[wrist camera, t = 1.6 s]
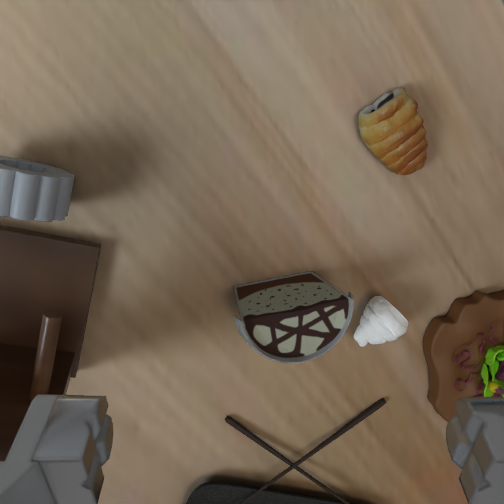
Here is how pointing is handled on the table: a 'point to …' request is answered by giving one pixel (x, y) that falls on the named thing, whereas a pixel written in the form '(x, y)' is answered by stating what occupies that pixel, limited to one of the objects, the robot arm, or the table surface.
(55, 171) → the grey knurled ring
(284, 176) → the table surface
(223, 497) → the sushi plate
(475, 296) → the plant
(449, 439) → the robot arm
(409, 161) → the pastry
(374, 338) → the white cream swirl
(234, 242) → the table surface
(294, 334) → the halved ice cream tub
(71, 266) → the stand
